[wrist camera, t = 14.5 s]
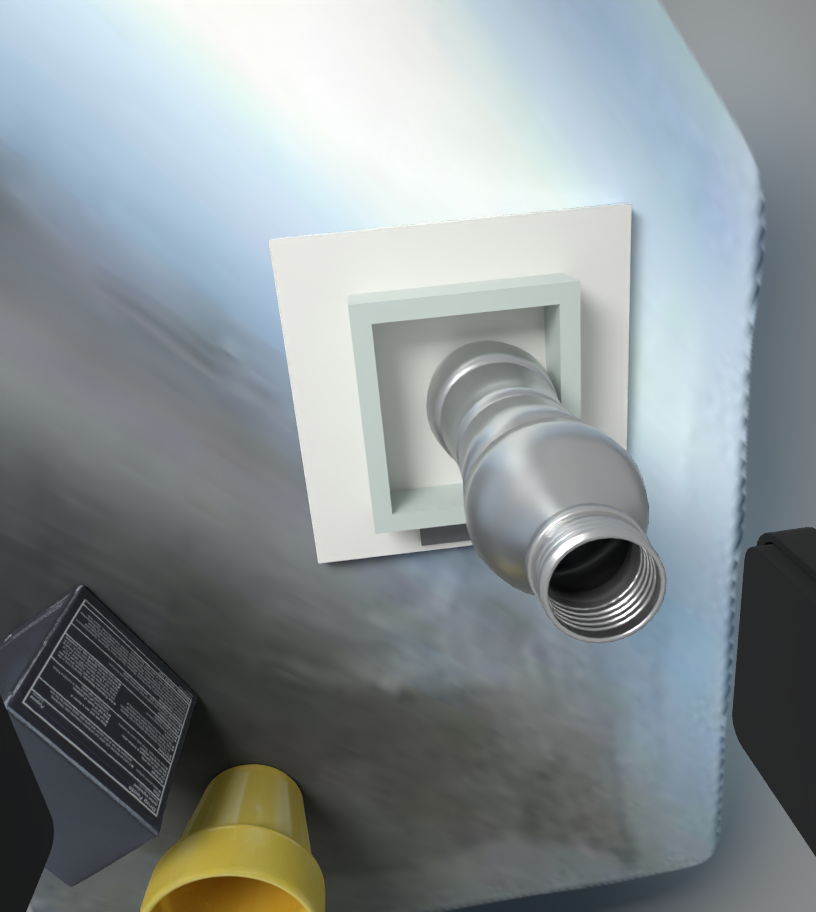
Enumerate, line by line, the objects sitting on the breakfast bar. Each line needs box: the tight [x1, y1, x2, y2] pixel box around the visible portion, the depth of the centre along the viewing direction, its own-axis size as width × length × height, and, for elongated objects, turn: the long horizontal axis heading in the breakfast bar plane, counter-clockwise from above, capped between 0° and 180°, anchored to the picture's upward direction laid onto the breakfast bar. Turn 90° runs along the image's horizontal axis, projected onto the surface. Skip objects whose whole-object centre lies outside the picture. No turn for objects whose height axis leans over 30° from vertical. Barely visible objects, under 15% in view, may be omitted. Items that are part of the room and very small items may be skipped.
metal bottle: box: [426, 340, 666, 643], centre depth 30 cm, size 6×7×20 cm
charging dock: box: [269, 203, 632, 563], centre depth 39 cm, size 18×18×4 cm
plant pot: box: [140, 764, 325, 912], centre depth 45 cm, size 10×10×10 cm
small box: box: [0, 585, 198, 887], centre depth 40 cm, size 11×6×10 cm, turn 35°
